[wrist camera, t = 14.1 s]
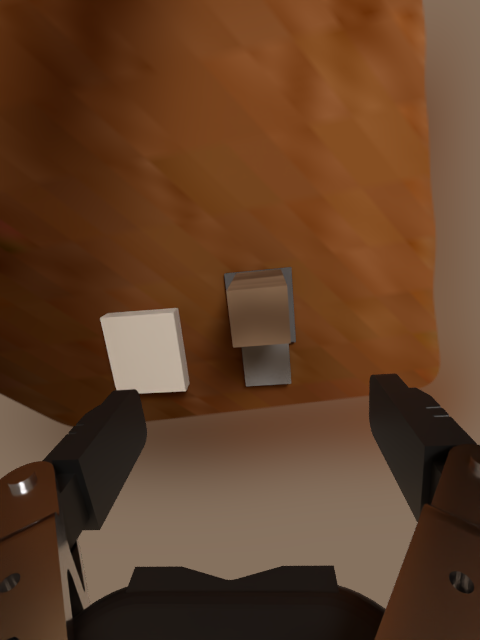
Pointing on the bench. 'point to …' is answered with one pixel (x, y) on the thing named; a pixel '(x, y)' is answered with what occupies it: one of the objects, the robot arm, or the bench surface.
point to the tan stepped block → (261, 325)
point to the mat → (288, 279)
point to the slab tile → (146, 350)
